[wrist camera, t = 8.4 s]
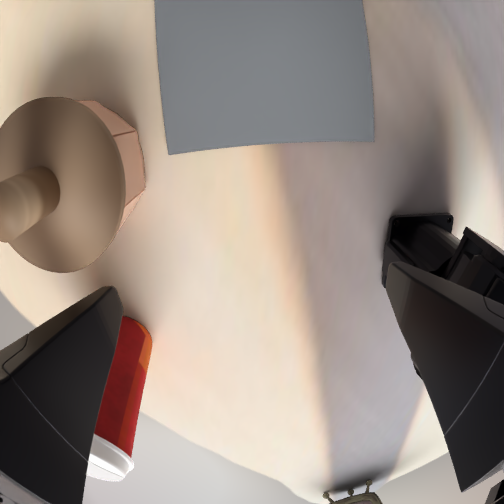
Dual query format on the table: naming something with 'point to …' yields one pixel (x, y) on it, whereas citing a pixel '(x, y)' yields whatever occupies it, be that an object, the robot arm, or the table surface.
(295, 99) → the mat
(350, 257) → the table surface
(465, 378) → the robot arm
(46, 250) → the lid
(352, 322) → the table surface
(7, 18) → the table surface
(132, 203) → the bowl
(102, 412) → the paper cup
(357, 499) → the tabletop clock
